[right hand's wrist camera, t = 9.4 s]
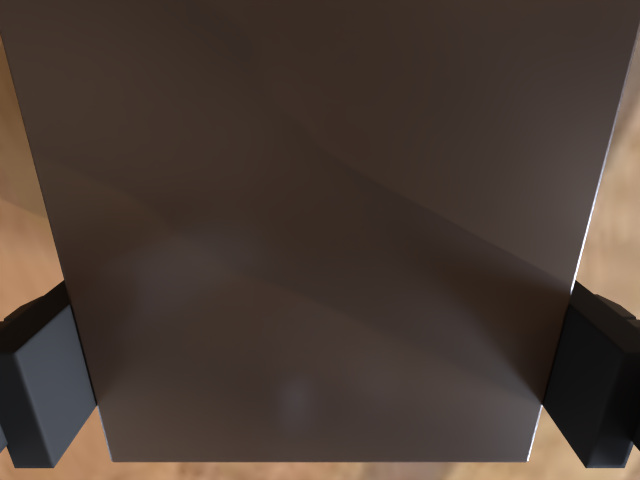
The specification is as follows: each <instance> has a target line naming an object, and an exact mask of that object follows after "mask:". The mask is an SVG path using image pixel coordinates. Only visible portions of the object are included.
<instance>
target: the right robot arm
mask: <svg viewBox="0 0 640 480" xmlns="http://www.w3.org/2000/svg"><path fill="white" fill-rule="evenodd" d="M96 406H97V404H96V400H95V396H94V392H93V389H92V385H91V381H90V377H89V373H88V369H87V365H86V362H85V358H84V354H83V350H82V346H81V342H80V338H79V335H78V331H77V327H76V323H75V319H74V315H73V311H72V308H71V304H70V300H69V296H68V292H67V288H66V284H65V281H64V280H63V281H62V282H61V283H60V284H58V285H57V286H56V287H54V288H53V289H52V290H51V291H49V292H48V293H47V294H45V295H44V296H41V297H39V298H37V299H35V300H33V301H31V302H29V303H27V304H24V305H22V306H20V307H19V308H18V309H16V310H15V311H14V312H12V313H11V314H10V315H8V316H7V317H6V318H4V321H0V453H1V451H2V450H3V449H4V448H5V447H6V446H7V449H8V451H9V454H10V457H11V459H12V462H13V464H14V467H15V468H54V467H55V465H56V464H57V463H58V461H59V460H60V458H61V457H62V455H63V454H64V452H65V451H66V449H67V448H68V447H69V445H70V444H71V442H72V441H73V439H74V438H75V436H76V435H77V433H78V432H79V431H80V429H81V428H82V426H83V425H84V423H85V422H86V420H87V419H88V417H89V416H90V415H91V413H92V412H93V410H94V409H95V407H96ZM543 406H544V408H545V409H546V411H547V412H548V414H549V415H550V417H551V418H552V420H553V421H554V422H555V424H556V425H557V427H558V428H559V430H560V431H561V433H562V434H563V436H564V437H565V438H566V440H567V441H568V443H569V444H570V446H571V447H572V449H573V450H574V452H575V453H576V454H577V456H578V457H579V459H580V460H581V462H582V463H583V465H584V466H585V468H625V465H626V463H627V460H628V458H629V455H630V452H631V450H632V447H633V445H635V446H636V447H637V448H638V450H639V451H640V320H636V317H635V316H634V315H632V314H631V313H630V312H628V311H627V310H626V309H624V308H623V307H622V306H620V305H619V304H617V303H615V302H612V301H610V300H608V299H606V298H604V297H602V296H600V295H598V294H593V293H591V292H590V291H589V290H588V289H586V288H585V287H584V286H582V285H581V284H580V283H579V282H577V281H576V280H575V282H574V286H573V290H572V294H571V298H570V302H569V306H568V309H567V313H566V317H565V321H564V325H563V329H562V333H561V336H560V340H559V344H558V348H557V352H556V356H555V360H554V363H553V367H552V371H551V375H550V379H549V383H548V387H547V391H546V394H545V398H544V402H543Z"/></svg>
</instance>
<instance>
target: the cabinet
mask: <svg viewBox="0 0 640 480" xmlns="http://www.w3.org/2000/svg"><path fill="white" fill-rule="evenodd" d="M639 31H640V0H0V34H1V38H2V41H3V45H4V49H5V53H6V57H7V61H8V65H9V68H10V72H11V76H12V80H13V84H14V88H15V92H16V95H17V99H18V103H19V107H20V111H21V115H22V119H23V122H24V126H25V130H26V134H27V138H28V142H29V146H30V149H31V153H32V157H33V161H34V165H35V169H36V173H37V176H38V180H39V184H40V188H41V192H42V196H43V200H44V203H45V207H46V211H47V215H48V219H49V223H50V227H51V230H52V234H53V238H54V242H55V246H56V250H57V254H58V257H59V261H60V265H61V269H62V273H63V277H64V281H65V284H66V288H67V292H68V296H69V300H70V304H71V308H72V311H73V315H74V319H75V323H76V327H77V331H78V335H79V338H80V342H81V346H82V350H83V354H84V358H85V362H86V365H87V369H88V373H89V377H90V381H91V385H92V389H93V392H94V396H95V400H96V404H97V408H98V412H99V416H100V419H101V423H102V427H103V431H104V435H105V439H106V443H107V446H108V450H109V454H110V458H111V461H112V462H527V461H528V460H529V456H530V452H531V448H532V445H533V441H534V437H535V433H536V429H537V425H538V421H539V418H540V414H541V410H542V406H543V402H544V398H545V394H546V391H547V387H548V383H549V379H550V375H551V371H552V367H553V363H554V360H555V356H556V352H557V348H558V344H559V340H560V336H561V333H562V329H563V325H564V321H565V317H566V313H567V309H568V306H569V302H570V298H571V294H572V290H573V286H574V282H575V278H576V275H577V271H578V267H579V263H580V259H581V255H582V251H583V248H584V244H585V240H586V236H587V232H588V228H589V224H590V221H591V217H592V213H593V209H594V205H595V201H596V197H597V193H598V190H599V186H600V182H601V178H602V174H603V170H604V166H605V163H606V159H607V155H608V151H609V147H610V143H611V139H612V136H613V132H614V128H615V124H616V120H617V116H618V112H619V108H620V105H621V101H622V97H623V93H624V89H625V85H626V81H627V78H628V74H629V70H630V66H631V62H632V58H633V54H634V51H635V47H636V43H637V39H638V35H639Z"/></svg>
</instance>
